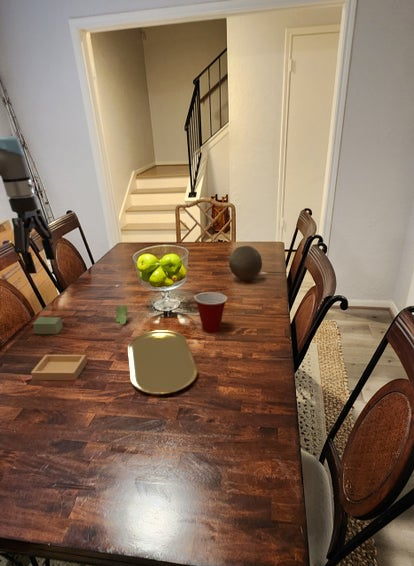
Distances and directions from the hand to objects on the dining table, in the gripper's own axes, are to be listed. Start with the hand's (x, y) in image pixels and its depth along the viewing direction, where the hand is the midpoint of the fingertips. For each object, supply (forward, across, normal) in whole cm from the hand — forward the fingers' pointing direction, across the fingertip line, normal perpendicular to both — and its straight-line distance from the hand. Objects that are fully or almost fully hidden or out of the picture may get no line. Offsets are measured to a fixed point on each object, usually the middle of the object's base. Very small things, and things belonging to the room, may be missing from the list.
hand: (42, 266), depth 121 cm
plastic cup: (+24, -1, -55) cm, 60 cm away
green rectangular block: (+23, -2, +3) cm, 23 cm away
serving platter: (+23, -22, -41) cm, 52 cm away
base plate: (+23, -27, -12) cm, 37 cm away
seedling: (+23, +9, -25) cm, 35 cm away
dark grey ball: (+24, +45, -67) cm, 84 cm away
